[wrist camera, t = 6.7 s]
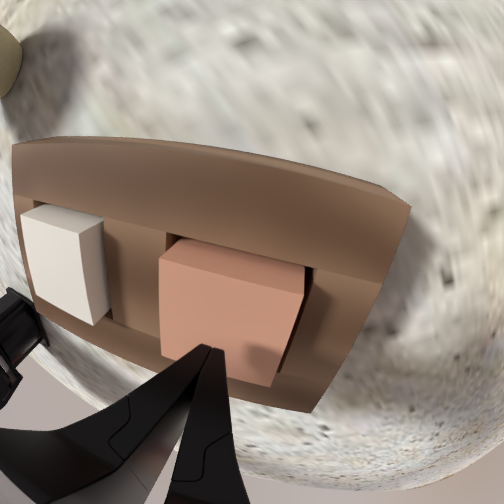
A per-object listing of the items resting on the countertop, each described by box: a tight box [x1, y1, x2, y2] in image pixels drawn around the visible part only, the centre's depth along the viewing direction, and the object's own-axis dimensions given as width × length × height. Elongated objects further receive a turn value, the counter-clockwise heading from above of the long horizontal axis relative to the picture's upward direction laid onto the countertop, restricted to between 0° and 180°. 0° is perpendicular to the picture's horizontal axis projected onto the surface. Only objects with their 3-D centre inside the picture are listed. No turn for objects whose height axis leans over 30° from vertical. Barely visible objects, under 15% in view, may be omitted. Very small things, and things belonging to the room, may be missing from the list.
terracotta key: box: [159, 236, 305, 387], centre depth 11 cm, size 5×5×3 cm
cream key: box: [20, 203, 111, 326], centre depth 12 cm, size 5×5×3 cm
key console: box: [12, 136, 412, 413], centre depth 13 cm, size 12×20×4 cm, turn 80°
